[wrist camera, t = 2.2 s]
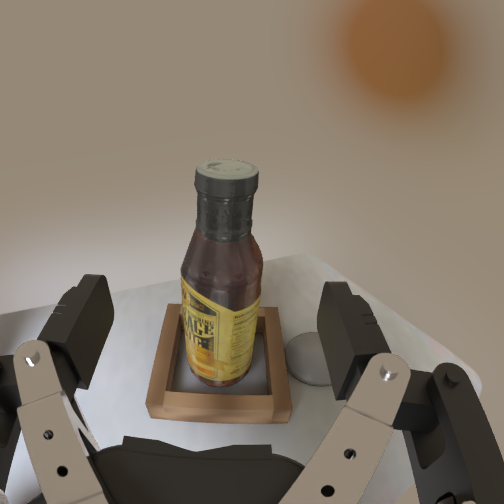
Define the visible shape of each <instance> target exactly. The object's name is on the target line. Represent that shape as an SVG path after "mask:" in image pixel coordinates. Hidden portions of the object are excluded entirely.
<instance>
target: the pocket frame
mask: <svg viewBox="0 0 504 504" xmlns="http://www.w3.org/2000/svg"><path fill="white" fill-rule="evenodd" d="M181 330H185V329H184V317H183V305H182V304H168V306H167V310H166V314H165V318H164V322H163V326H162V330H161V334H160V339H159V343H158V347H157V352H156V356H155V360H154V365H153V369H152V374H151V379H150V383H149V388H148V393H147V398H146V403H145V404H146V407H147V409H148V412H149V415H150V417H151V418H156V419H166V420H176V421H189V422H205V423H231V424H270V423H288V420H289V417H290V414H291V411H292V405H291V398H290V390H289V383H288V376H287V369H286V362H285V355H284V348H283V341H282V334H281V327H280V320H279V313H278V307H259V310H258V317H257V324H256V331H255V333H263V340H264V351H265V363H266V375H267V387H268V395H219V394H198V393H183V392H171V390H172V384H173V377H174V371H175V365H176V359H177V353H178V347H179V341H180V335H181Z"/></svg>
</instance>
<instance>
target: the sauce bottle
mask: <svg viewBox="0 0 504 504" xmlns="http://www.w3.org/2000/svg"><path fill="white" fill-rule="evenodd" d="M258 174H259V172H258V169H257V168H256V167H255V166H253V165H251V164H249V163H246V162H244V161H239V160H230V159H218V160H210V161H206V162H203V163H201V164H200V165H199V166H198V167H197V168H196V174H195V183H194V185H195V188H196V191H197V193H198V196H197V220H196V228H195V230H194V233H193V236H192V239H191V242H190V244H189V247H188V250H187V253H186V255H185V258H184V261H183V264H182V266H181V287H182V305H183V317H184V329H185V340H186V351H187V359H188V362H189V365H190V369H191V371H192V373H193V374H194V375H195V376H196V377H197V378H198V379H199V380H200V381H202V382H204V383H205V384H207V385H209V386H214V387H218V386H230V385H233V384H235V383H237V382H238V381H240V380H241V379H242V378H243V377H244V376H245V374H246V373H247V372H248V370H249V368H250V363H251V360H252V353H253V346H254V339H255V331H256V324H257V317H258V310H259V303H260V295H261V285H260V284H261V276H262V270H263V257H262V254H261V251H260V249H259V246H258V244H257V243H256V241H255V239H254V236H253V235H252V234H251V227H252V219H251V218H252V209H253V198H254V194H255V192H256V190H257V188H258Z"/></svg>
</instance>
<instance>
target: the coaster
mask: <svg viewBox="0 0 504 504" xmlns="http://www.w3.org/2000/svg"><path fill="white" fill-rule="evenodd" d="M285 362H286V366H287V368H288V370H289V371H290V373H291V374H292V375H293V376H294V377H296V378H297V379H299V380H300V381H302V382H304V383H307V384H310V385H314V386H328V385H332V383H331V379H330V375H329V371H328V367H327V364H326V360H325V356H324V352H323V348H322V344H321V341H320V337H319V333H318V332H309V333H304V334H301V335H298V336H296V337H295V338H293V339H292V340H291V341H290V342H289V344H288V345H287V347H286V351H285Z"/></svg>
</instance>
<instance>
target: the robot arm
mask: <svg viewBox="0 0 504 504" xmlns="http://www.w3.org/2000/svg"><path fill="white" fill-rule="evenodd" d="M113 321H114V307H113V303H112V299H111V295H110V291H109V287H108V283H107V279H106V277H105V276H104V275H91V274H86V275H84V276H83V278H82V280H81V281H80V283H79V284H78V286H77V287H72V288H71V289H70V290H68V291H67V292H66V293H65V294H64V295H63V296H62V298H61V300H60V301H59V303H58V306H56V307H55V309H54V311H53V314H51V316H50V317H49V319H48V321H47V322H46V324H45V326H44V328H43V329H42V331H41V333H40V335H39V336H38V338H37V340H31V341H28V342H26V343H24V344H22V345H21V346H20V347H19V348H18V349H17V350H16V352H15V354H14V355H6V356H0V504H8V500H7V497H6V495H5V489H6V484H7V480H8V476H9V471H10V467H11V464H12V460H13V456H14V452H15V449H16V445H17V442H18V439H19V435H20V432H21V429H22V433H23V436H24V440H25V443H26V447H27V450H28V453H29V456H30V459H31V462H32V465H33V468H34V471H35V474H36V477H37V479H38V482H39V485H40V487H41V490H42V493H41V494H40V495H38V496H37V497H35V498H34V499H33V500H31V501H30V502H29V503H27V504H357V503H358V501H359V500H360V498H361V496H362V494H363V492H364V491H365V489H366V487H367V485H368V483H369V481H370V479H371V477H372V475H373V473H374V471H375V469H376V467H377V465H378V463H379V461H380V459H381V457H382V455H383V453H384V450H385V448H386V446H387V444H388V442H389V439H390V437H391V435H392V432H393V429H397V430H402V431H403V435H404V439H405V442H406V446H407V450H408V454H409V458H410V462H411V466H412V470H413V475H414V479H415V483H416V488H417V492H418V497H419V502H420V504H504V461H503V458H502V455H501V453H500V450H499V447H498V445H497V442H496V439H495V437H494V434H493V432H492V429H491V427H490V424H489V422H488V420H487V417H486V415H485V412H484V410H483V408H482V406H481V403H480V401H479V399H478V396H477V394H476V392H475V390H474V388H473V386H472V384H471V381H470V379H469V377H468V375H467V374H466V372H465V371H464V370H463V369H462V368H461V367H459V366H458V365H456V364H453V363H442V364H439V365H438V366H437V367H436V368H435V370H434V371H433V373H430V372H423V371H417V370H412V369H410V368H409V366H408V364H407V363H406V362H405V361H404V360H403V359H402V358H401V357H399V356H397V355H394V354H392V353H391V351H390V349H389V347H388V344H387V342H386V340H385V338H384V336H383V333H382V331H381V329H380V327H379V325H378V324H377V320H376V318H375V316H373V312H372V310H371V308H370V306H369V304H368V303H367V302H366V301H365V300H364V299H363V298H362V297H361V296H360V295H352V293H351V290H350V288H349V286H348V284H347V282H325V284H324V287H323V292H322V296H321V301H320V305H319V310H318V314H317V329H318V333H319V337H320V341H321V344H322V348H323V352H324V356H325V360H326V364H327V367H328V371H329V375H330V379H331V383H332V387H333V391H334V395H335V399H336V400H347V404H346V405H345V406H344V408H343V409H342V411H341V413H340V414H339V416H338V418H337V419H336V421H335V423H334V424H333V426H332V427H331V429H330V431H329V432H328V434H327V435H326V437H325V439H324V440H323V442H322V443H321V445H320V446H319V448H318V449H317V451H316V452H315V454H314V455H313V457H312V458H311V460H310V461H309V463H308V464H307V466H306V467H305V466H304V465H302V464H300V463H299V462H297V461H295V460H292V459H290V458H288V457H285V456H281V455H278V454H272V449H271V444H270V445H231V446H226V447H221V448H216V449H210V450H205V451H198V452H194V451H190V450H186V449H183V448H180V447H177V446H174V445H171V444H168V443H165V442H162V441H159V440H152V439H144V438H137V437H130V436H124V438H123V443H122V445H116V446H111V447H108V448H105V449H102V450H101V449H100V447H99V446H98V444H97V442H96V441H95V439H94V437H93V435H92V433H91V431H90V429H89V427H88V424H87V422H86V420H85V418H84V415H83V413H82V411H81V409H80V406H79V404H78V401H77V399H76V397H75V395H74V394H75V391H76V389H77V388H80V389H86V390H88V388H89V385H90V382H91V379H92V376H93V374H94V371H95V368H96V365H97V363H98V360H99V357H100V355H101V352H102V349H103V347H104V344H105V342H106V339H107V337H108V334H109V332H110V329H111V327H112V324H113Z"/></svg>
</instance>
